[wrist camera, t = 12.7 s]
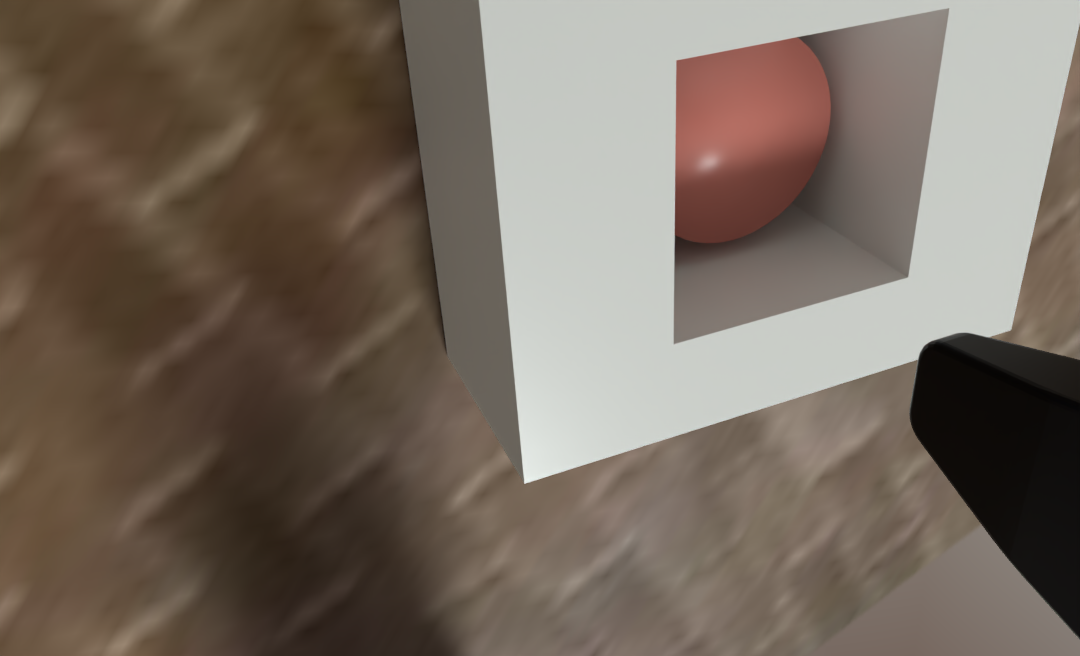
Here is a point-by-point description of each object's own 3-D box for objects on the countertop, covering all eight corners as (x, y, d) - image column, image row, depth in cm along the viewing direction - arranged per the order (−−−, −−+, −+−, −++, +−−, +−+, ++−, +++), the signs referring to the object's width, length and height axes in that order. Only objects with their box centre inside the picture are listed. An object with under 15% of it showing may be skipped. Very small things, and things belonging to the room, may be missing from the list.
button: (596, 227, 22) (636, 264, 21) (588, 22, 20) (633, 47, 18) (770, 186, 24) (820, 217, 22) (783, -12, 21) (840, 8, 20)
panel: (447, 356, 23) (524, 483, 19) (385, -103, 18) (473, -59, 14) (870, 242, 27) (1011, 330, 23) (923, -170, 21) (1118, -152, 17)
